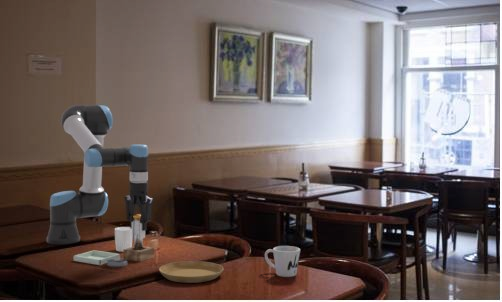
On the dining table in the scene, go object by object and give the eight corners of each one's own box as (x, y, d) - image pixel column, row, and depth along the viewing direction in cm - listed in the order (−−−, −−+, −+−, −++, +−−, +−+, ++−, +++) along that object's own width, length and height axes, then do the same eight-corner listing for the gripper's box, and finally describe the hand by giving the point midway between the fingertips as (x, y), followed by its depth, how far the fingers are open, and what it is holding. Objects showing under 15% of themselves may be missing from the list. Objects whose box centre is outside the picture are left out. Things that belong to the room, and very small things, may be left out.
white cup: (128, 253, 272) (128, 230, 271) (111, 252, 273) (111, 229, 272) (135, 249, 279) (135, 227, 279) (119, 248, 281) (118, 226, 280)
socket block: (123, 260, 259) (123, 249, 259) (137, 255, 267) (137, 245, 267) (140, 262, 255) (140, 251, 255) (154, 258, 263) (154, 247, 263)
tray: (73, 261, 255) (73, 255, 255) (94, 255, 266) (94, 250, 266) (100, 266, 249) (100, 260, 249) (120, 259, 259) (120, 254, 259)
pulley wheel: (103, 266, 248) (102, 259, 248) (116, 262, 255) (116, 255, 255) (118, 269, 244) (118, 262, 244) (131, 264, 251) (131, 258, 251)
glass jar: (130, 248, 260) (130, 215, 259) (137, 246, 264) (137, 213, 263) (139, 250, 258) (139, 216, 257) (146, 247, 262) (146, 214, 261)
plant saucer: (184, 265, 252) (184, 257, 252) (235, 274, 240) (235, 265, 240) (145, 279, 231) (145, 270, 231) (199, 289, 219) (199, 280, 219)
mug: (291, 279, 232) (292, 253, 231) (257, 273, 240) (257, 248, 239) (304, 273, 241) (305, 247, 240) (271, 268, 248) (271, 243, 248)
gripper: (117, 181, 259) (116, 236, 261) (149, 184, 252) (148, 241, 254) (128, 179, 266) (128, 233, 268) (160, 182, 258) (159, 238, 260)
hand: (138, 237), depth 261 cm, fingers closed on glass jar, 3 cm apart
